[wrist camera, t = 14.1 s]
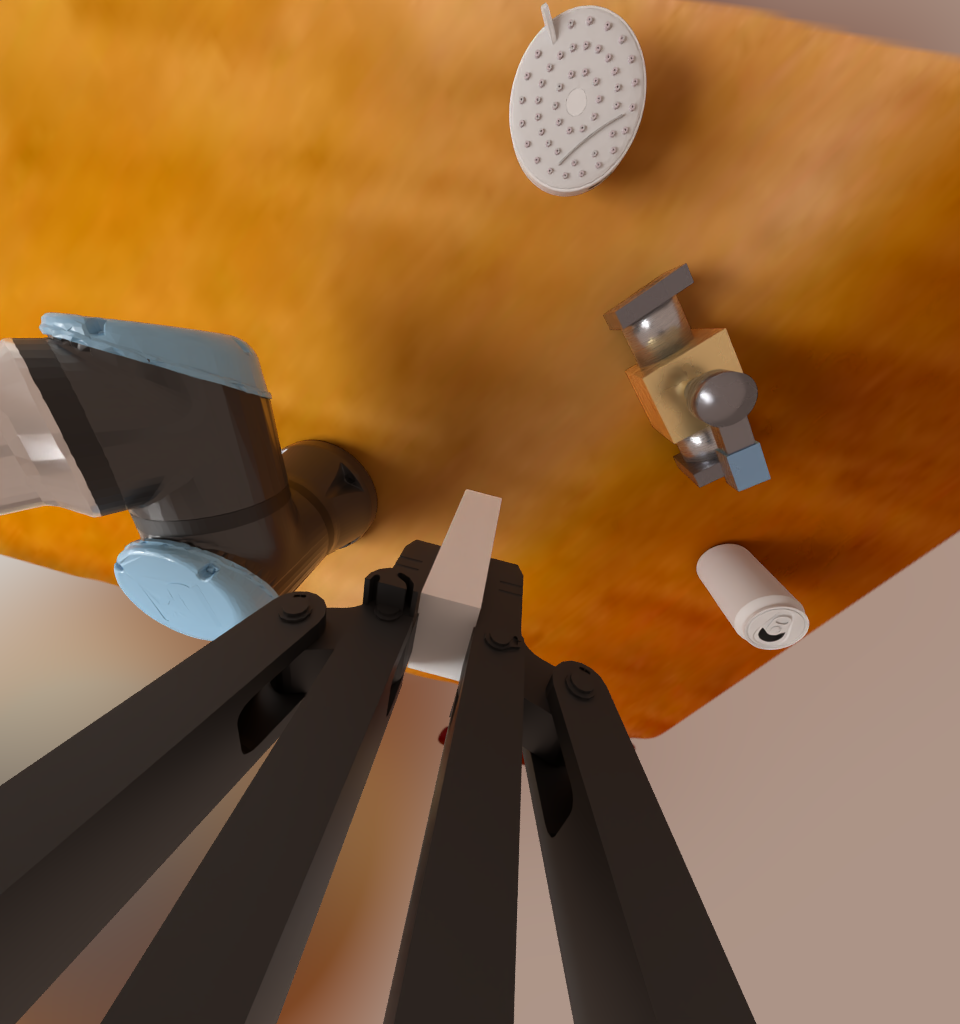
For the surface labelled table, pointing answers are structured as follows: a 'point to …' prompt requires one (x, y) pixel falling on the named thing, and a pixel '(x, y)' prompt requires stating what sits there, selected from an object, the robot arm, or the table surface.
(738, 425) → the lever
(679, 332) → the pipe in
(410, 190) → the table surface
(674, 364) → the valve
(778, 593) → the beverage can
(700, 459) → the pipe out
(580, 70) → the showerhead
